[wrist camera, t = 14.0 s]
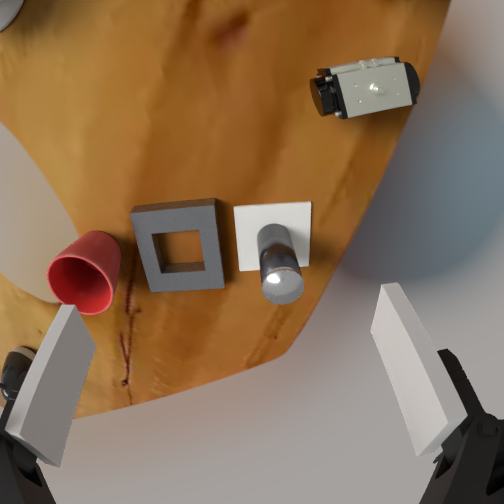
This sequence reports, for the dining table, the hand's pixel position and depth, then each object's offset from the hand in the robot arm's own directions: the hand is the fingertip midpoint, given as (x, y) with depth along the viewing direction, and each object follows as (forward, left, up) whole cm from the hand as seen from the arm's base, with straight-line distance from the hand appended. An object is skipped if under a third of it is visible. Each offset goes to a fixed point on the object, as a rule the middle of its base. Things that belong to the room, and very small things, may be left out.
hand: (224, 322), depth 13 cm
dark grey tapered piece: (+43, -56, -33) cm, 78 cm away
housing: (+15, -9, -33) cm, 37 cm away
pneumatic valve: (-8, +15, -33) cm, 37 cm away
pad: (+15, +5, -33) cm, 36 cm away
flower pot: (+15, -23, -33) cm, 43 cm away
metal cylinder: (+15, +5, -32) cm, 36 cm away
